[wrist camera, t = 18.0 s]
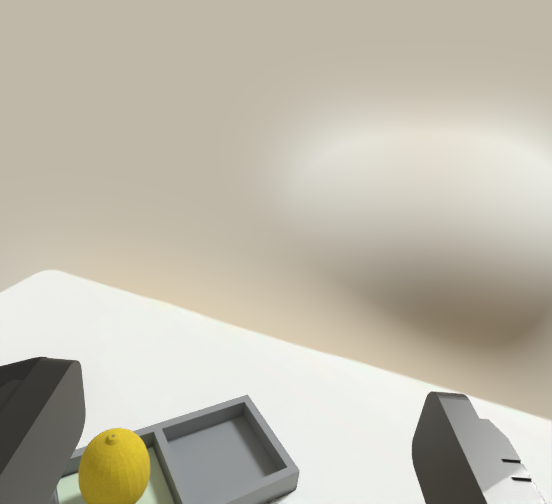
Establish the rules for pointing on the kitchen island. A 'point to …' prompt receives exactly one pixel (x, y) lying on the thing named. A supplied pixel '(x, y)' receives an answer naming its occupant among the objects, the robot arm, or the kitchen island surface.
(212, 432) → the organiser tray
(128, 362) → the kitchen island surface
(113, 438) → the lemon
